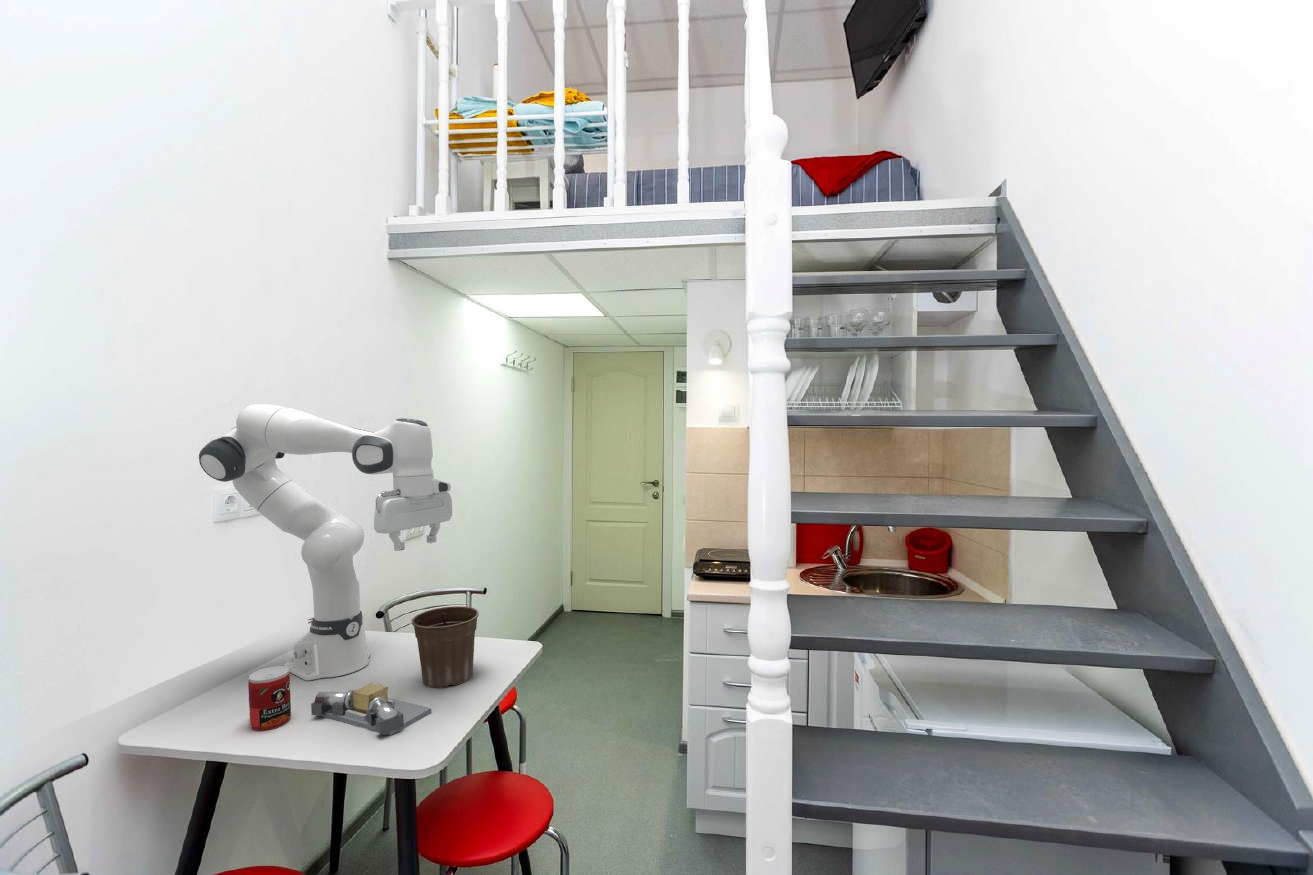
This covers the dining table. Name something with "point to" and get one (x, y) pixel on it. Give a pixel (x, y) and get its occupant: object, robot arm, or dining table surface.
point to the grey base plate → (407, 709)
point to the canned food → (269, 698)
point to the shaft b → (383, 715)
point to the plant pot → (446, 644)
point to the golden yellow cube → (368, 696)
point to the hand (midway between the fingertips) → (416, 546)
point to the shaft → (332, 703)
